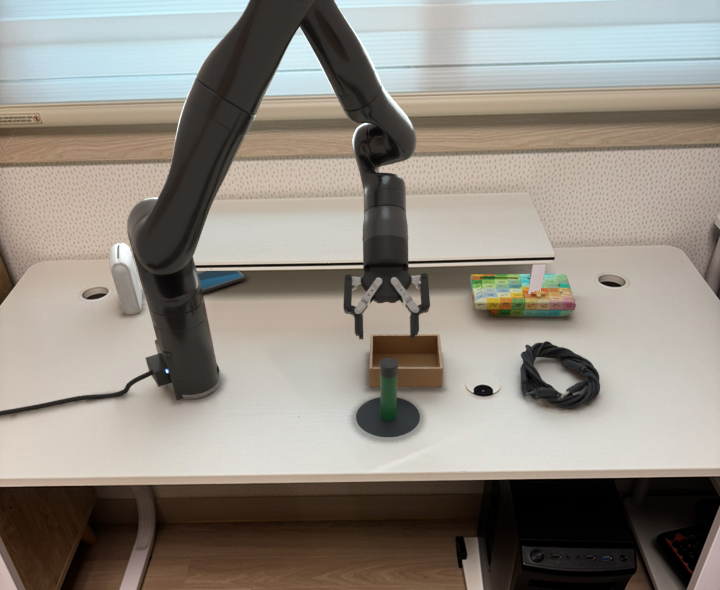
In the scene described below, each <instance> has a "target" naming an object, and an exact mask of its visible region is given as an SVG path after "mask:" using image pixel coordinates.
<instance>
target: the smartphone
mask: <svg viewBox="0 0 720 590" xmlns="http://www.w3.org/2000/svg"><path fill="white" fill-rule="evenodd" d="M198 277H199V280H200V283H201V287H202V292H203V294H207V293H209V292H212V291H216V290H219V289H221V288H224V287H227V286H230V285H233V284H237V283H240V282H242V281H244V280H245V279H246V276H245V274H244V273H242V272H241V271H240V270H239V271H230V272H229V271H208V270H205V271H202V272H198Z"/></svg>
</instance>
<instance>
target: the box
mask: <svg viewBox="0 0 720 590" xmlns="http://www.w3.org/2000/svg"><path fill="white" fill-rule="evenodd" d="M369 337H370V338H369V366H368V367H369V370H368V372H369V373H368V375H369V377H368V378H369V388H380V362H381V360H383V359H385V358H393V359H395V360H396V361H397V362H398V374H397V388H442V387H443V376H444V375H443V374H444V365H443V355H442V354H443V353H442V344H441V335H440V333H439V334H435V333H434V334H433V333H432V334H431V333H429V334H427V333H426V334H425V333H423V334H421V333H418V335H415V338H414V339H410V333H409V334H401V333H400V334H397V333H396V334H395V333H394V334H393V333H392V334H384V333H383V334H381V333H380V334H377V333H376V334H370V336H369Z"/></svg>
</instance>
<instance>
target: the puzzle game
mask: <svg viewBox="0 0 720 590" xmlns="http://www.w3.org/2000/svg"><path fill="white" fill-rule="evenodd" d="M530 274H531V273H487V274H486V273H485V274H479V273H478V274H477V273H476V274H475V273H473V274H470V279H469V280H470V286H471V287H470V288H471V295H472V302H473V308H474V309H475V310H478V311H479V310H480V311H489V314H490V315H491V316H492V317H541V318H544V317H547V318H548V317H549V318H550V317H553V318H555V317H556V318H564V317H567V316H568V315H569V314H571V313H572V312H574V311H575V310H576V305H577V304H576V301H575V297H574V294H573V292H572V291H573V290H572V288H571V286H570V283H569V279H568V275H567V274H564V273H543V274H544V280H543V284H542V288H541V292H540V290H539V291H535V292H531V294H528V290H529V282H530Z"/></svg>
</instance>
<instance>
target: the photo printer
mask: <svg viewBox="0 0 720 590" xmlns="http://www.w3.org/2000/svg"><path fill="white" fill-rule="evenodd" d="M109 269H110V273H111V277H112V279H113V283H114V286H115V290H116V293H117V297H118V300H119V303H120V308H121V310H122V312H123V313H124V314H126V315H135V314H138V313H139V312H141V311H142V308H143V307H142V306H143V289H142V285H141V281H140V278H139V274H138V270H137V267H136V263H135V259H134V255H133V252H132V249H131V247H130V246H129V245H127V244H126V243H124V242H119V243H118V242H117V243H114V245H113V246H112V247H111V249H110V252H109Z"/></svg>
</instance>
